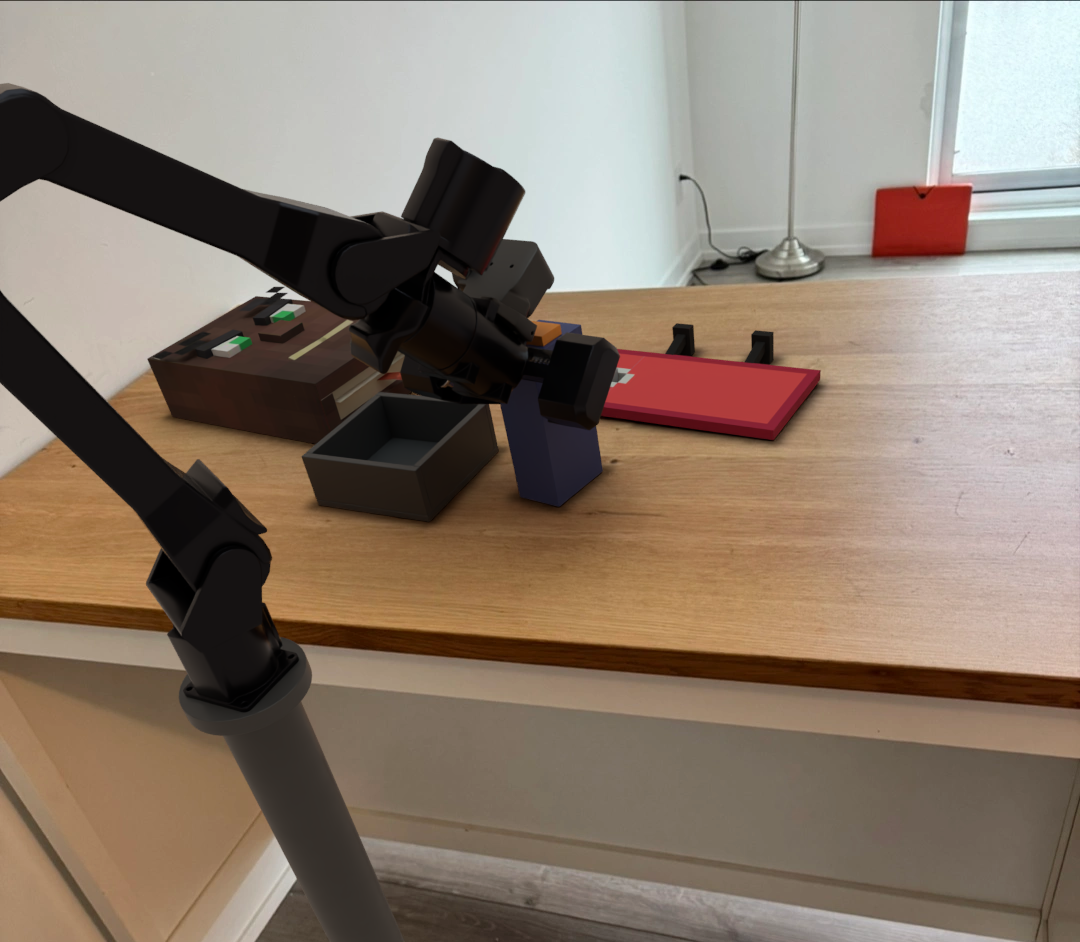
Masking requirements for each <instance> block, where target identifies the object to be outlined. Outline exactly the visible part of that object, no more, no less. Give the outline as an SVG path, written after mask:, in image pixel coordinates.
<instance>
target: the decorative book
mask: <svg viewBox="0 0 1080 942" xmlns="http://www.w3.org/2000/svg"><path fill="white" fill-rule="evenodd" d="M283 289H285V286H273V287H271V288H270V289H268V290H267V291H265V293H266V294H267V293H271V294H273V293H274V294H273V295H271V296H270V297H269V296H268V297H267V296H258V295H256V296H254V297H251V298H249V299H248V300H246V301H245V302H243V303H241V304H239V305H238V306H236V307H235V308H233V309H231V310H230V311H227V312H226V313H224V314H222V315H221V316H219V317H217V318H216V319H214V320H212V321H210V322H208V323H206V324H205V325H203V326H202V327H200V328H198V329H196V330H194V331H193V332H191V333H189V334H188V335H186V336H184V337H182V338H181V339H179V340H177V341H176V342H174V343H172V344H170V345H169V346H167V347H164V348H163V349H161V350H160V351H158V352H156V353H155V354H153V355H151V356H150V357H148V358H147V362H148V364H149V367H150V370H151V371H152V373H153V376H154V378H155V380H156V383H157V385H158V387H159V389H160V392H161V395H162V397H163V398H164V401H165V403H166V405H167V408H168V410H169V413H170V414H171V415H170V416H171V417H172V418H176V419H181V420H182V419H183V420H187V421H193V422H198V423H203V424H209V425H214V426H219V427H224V428H229V429H235V430H240V431H244V432H251V433H255V434H262V435H265V436H266V435H267V436H272V437H277V438H283V439H287V440H294V441H298V442H302V443H303V442H304V443H309V444H313V445H316V444H317V443H318V442H319V441H320V440H322V439H323V438H324V437H325V436H326V435H328V434H329V433H330V432H331V431H332V430H334V429H335V428H336V427H337V426H338V425H340V424H341V423H342V422H343V421H344V420H346V419H347V418H348V417H349V416H351V415H352V414H353V413H354V412H355V411H357V410H358V409H359V408H360V407H361V406H363V405H364V404H365V403H366V402H367V401H369V400H370V399H371V398H372V397H373V396H375V395H376V394H377V393H378V392H384V393H396V394H407V395H411V393H413V392H412V391H410V390H408V389H406V388H404V385H403V382H402V378H401V374H400V370H401V367H402V364H403V360H404V357H405V355H404V354H402V353H400V352H397V354H396V356H395V358H394V360H393V362H392V364H391V366H390V368H389V370H388V372H387V373H386V374H381V373H379V372H378V371H376V370H374V369H372V368H371V367H369V366H367V365H366V364H364V363H362V362H361V361H359V360H357V359H355V358H354V357H352V355H351V348H350V340H351V334H350V332H349V326H350V325H352V324H355V323H356V322H358V321H359V320H349V319H343V318H341V317H339V316H337V315H335V314H333V313H331V312H329V311H327V310H326V309H324V308H322V307H320V306H318V305H317V304H315V303H313V302H311V301H309V300H303V299H293V298H283V297H285V296H286V295H288V292H280V291H282V290H283Z"/></svg>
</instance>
